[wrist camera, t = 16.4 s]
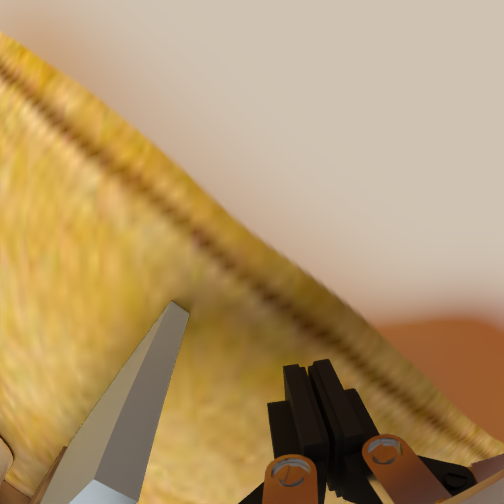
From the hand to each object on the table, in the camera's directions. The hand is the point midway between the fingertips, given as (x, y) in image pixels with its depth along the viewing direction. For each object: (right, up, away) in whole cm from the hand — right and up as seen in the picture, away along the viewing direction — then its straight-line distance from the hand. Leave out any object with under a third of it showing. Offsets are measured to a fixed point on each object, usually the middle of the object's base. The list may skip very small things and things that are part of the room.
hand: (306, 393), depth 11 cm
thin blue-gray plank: (-9, -3, +4) cm, 11 cm away
